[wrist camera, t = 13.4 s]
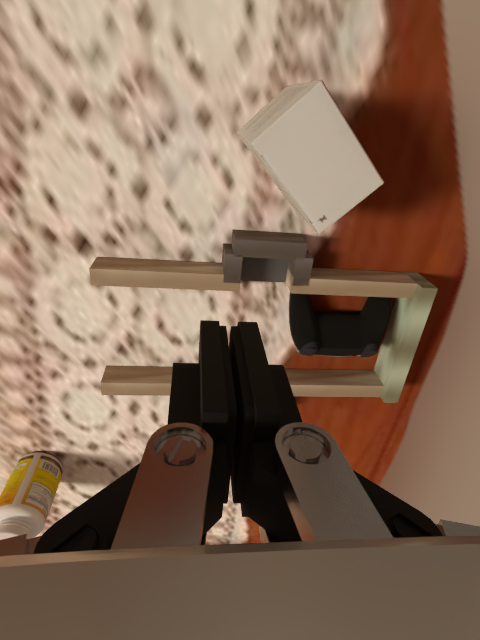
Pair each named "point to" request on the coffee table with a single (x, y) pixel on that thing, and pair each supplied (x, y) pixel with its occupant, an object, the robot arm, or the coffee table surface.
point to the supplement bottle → (29, 495)
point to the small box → (311, 153)
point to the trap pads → (264, 269)
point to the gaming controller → (338, 328)
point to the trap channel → (300, 279)
